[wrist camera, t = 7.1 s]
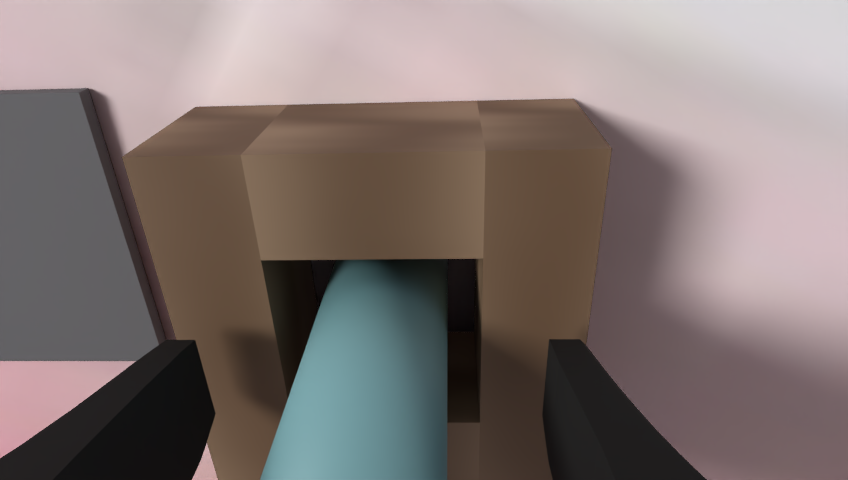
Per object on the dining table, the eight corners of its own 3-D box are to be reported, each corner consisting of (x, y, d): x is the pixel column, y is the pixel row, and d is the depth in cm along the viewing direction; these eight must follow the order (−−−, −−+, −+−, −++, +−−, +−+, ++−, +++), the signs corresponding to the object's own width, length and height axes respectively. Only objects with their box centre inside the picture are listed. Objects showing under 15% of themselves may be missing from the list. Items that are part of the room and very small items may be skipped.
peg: (344, 309, 16) (245, 662, 8) (332, 215, 15) (202, 532, 7) (448, 309, 16) (448, 667, 8) (447, 213, 15) (445, 537, 7)
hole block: (258, 389, 18) (219, 484, 15) (195, 107, 14) (121, 156, 11) (546, 390, 17) (567, 488, 14) (573, 98, 13) (611, 148, 10)
